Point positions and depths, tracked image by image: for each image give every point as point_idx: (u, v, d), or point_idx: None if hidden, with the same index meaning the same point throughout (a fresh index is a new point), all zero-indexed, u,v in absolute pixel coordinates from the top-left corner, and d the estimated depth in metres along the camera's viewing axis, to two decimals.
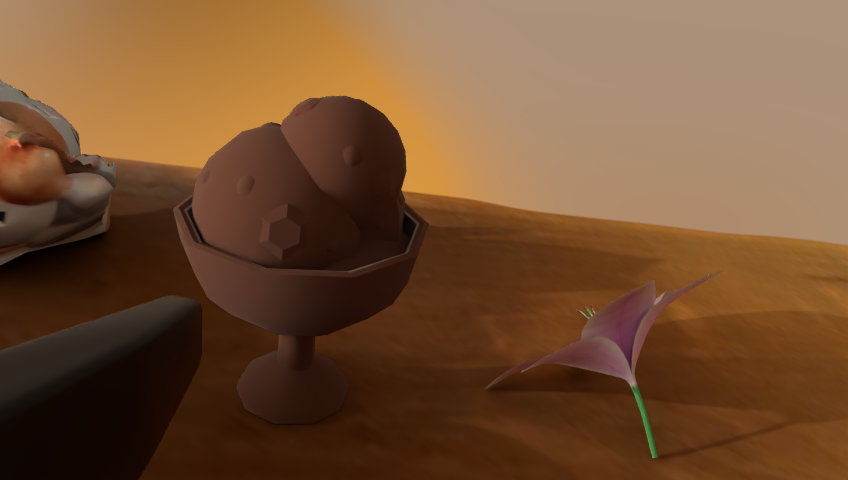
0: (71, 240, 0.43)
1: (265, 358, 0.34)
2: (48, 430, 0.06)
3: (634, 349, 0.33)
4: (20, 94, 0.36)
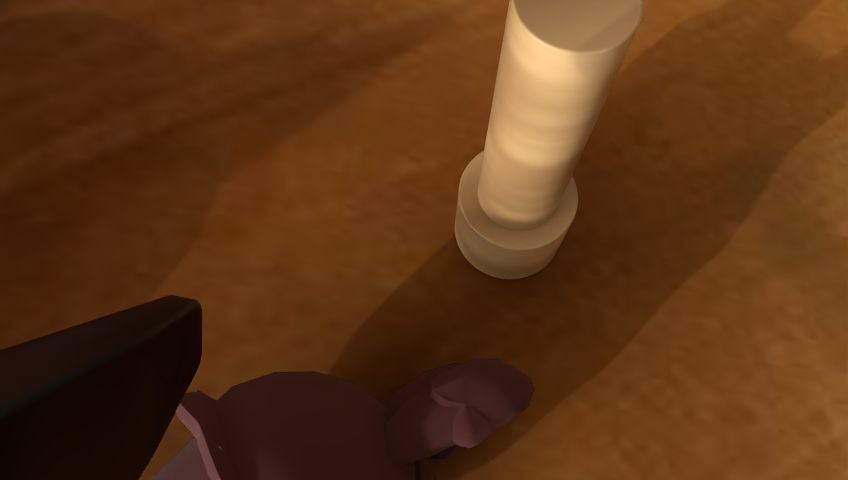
0: None
1: None
2: (48, 430, 0.06)
3: None
4: None
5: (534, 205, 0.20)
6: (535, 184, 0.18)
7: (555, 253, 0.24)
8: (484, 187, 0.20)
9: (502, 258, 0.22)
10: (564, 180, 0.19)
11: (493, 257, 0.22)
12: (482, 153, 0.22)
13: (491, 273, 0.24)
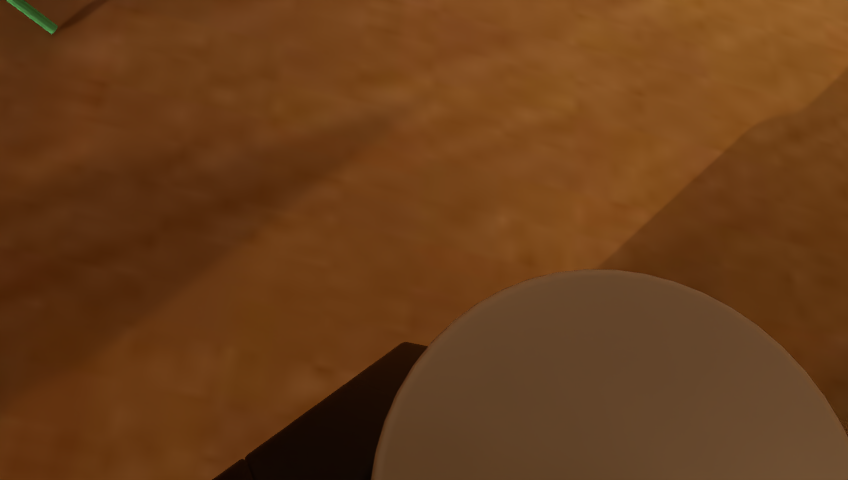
0: None
1: None
2: None
3: None
4: None
5: None
6: None
7: None
8: None
9: None
10: None
11: None
12: None
13: None
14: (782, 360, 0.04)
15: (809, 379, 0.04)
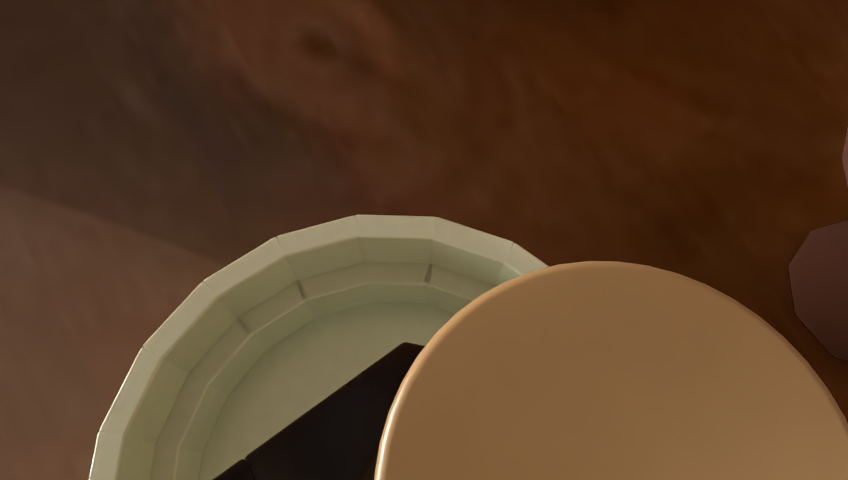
0: None
1: None
2: None
3: None
4: None
5: None
6: None
7: None
8: None
9: None
10: None
11: None
12: None
13: None
14: (786, 354, 0.04)
15: (811, 370, 0.04)
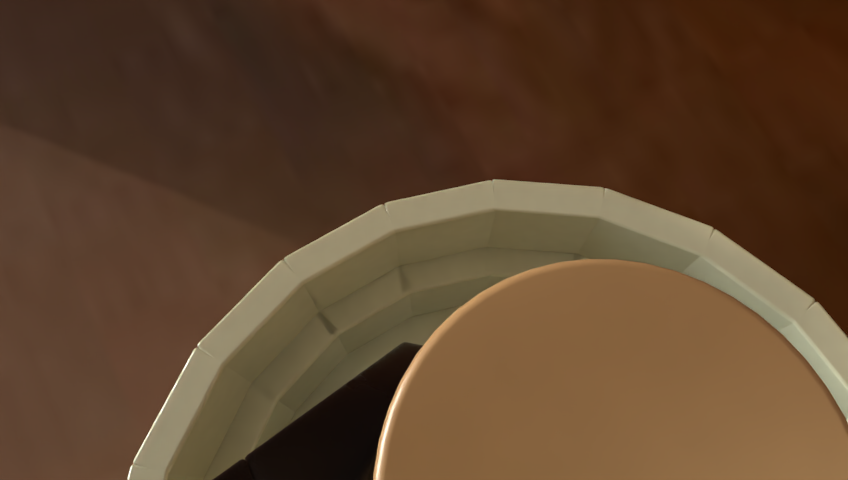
0: None
1: None
2: None
3: None
4: None
5: None
6: None
7: None
8: None
9: None
10: None
11: None
12: None
13: None
14: (783, 351, 0.04)
15: (810, 368, 0.04)
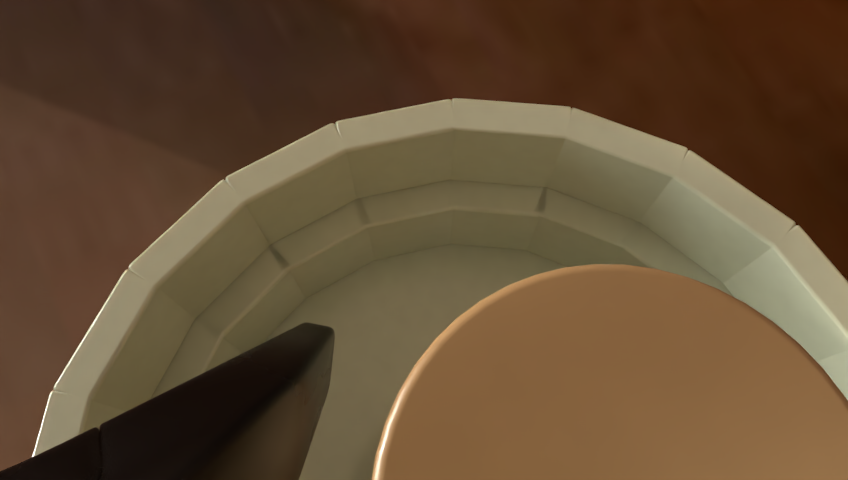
0: None
1: None
2: (235, 471, 0.06)
3: None
4: None
5: None
6: None
7: None
8: None
9: None
10: None
11: None
12: None
13: None
14: (801, 360, 0.04)
15: (828, 379, 0.04)
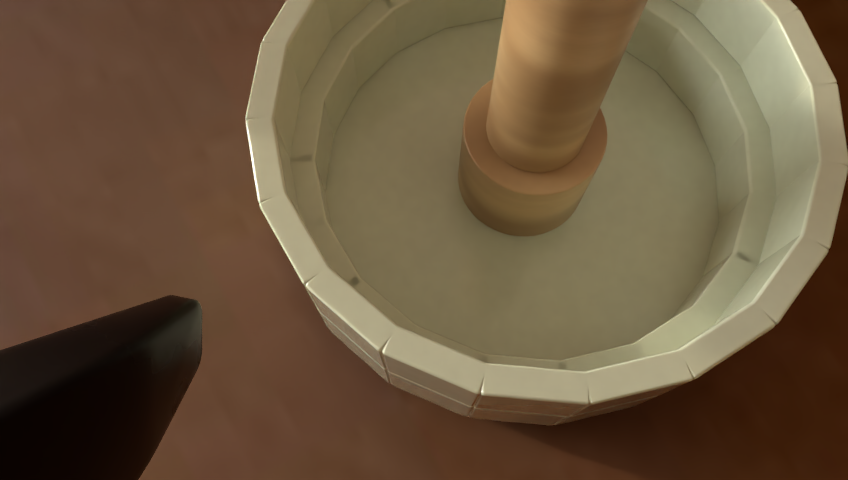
0: None
1: None
2: (48, 430, 0.06)
3: None
4: None
5: (557, 134, 0.16)
6: (561, 102, 0.14)
7: (577, 205, 0.20)
8: (494, 116, 0.17)
9: (515, 208, 0.18)
10: (596, 100, 0.15)
11: (504, 207, 0.18)
12: (491, 81, 0.19)
13: (501, 228, 0.20)
14: None
15: None
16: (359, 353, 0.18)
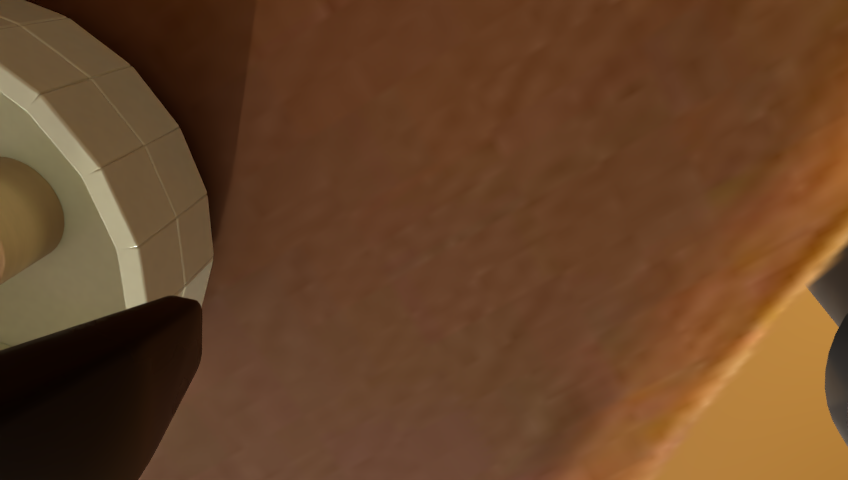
0: None
1: None
2: (48, 430, 0.06)
3: None
4: None
5: None
6: None
7: (19, 169, 0.23)
8: None
9: (27, 244, 0.22)
10: None
11: (29, 250, 0.22)
12: None
13: (59, 230, 0.23)
14: None
15: None
16: None
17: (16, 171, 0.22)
